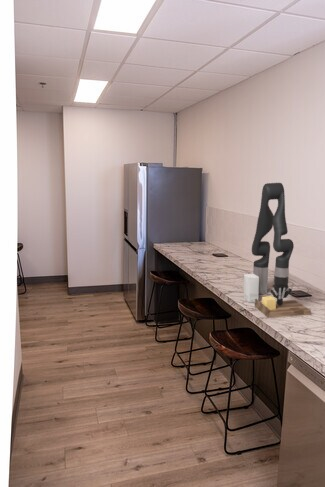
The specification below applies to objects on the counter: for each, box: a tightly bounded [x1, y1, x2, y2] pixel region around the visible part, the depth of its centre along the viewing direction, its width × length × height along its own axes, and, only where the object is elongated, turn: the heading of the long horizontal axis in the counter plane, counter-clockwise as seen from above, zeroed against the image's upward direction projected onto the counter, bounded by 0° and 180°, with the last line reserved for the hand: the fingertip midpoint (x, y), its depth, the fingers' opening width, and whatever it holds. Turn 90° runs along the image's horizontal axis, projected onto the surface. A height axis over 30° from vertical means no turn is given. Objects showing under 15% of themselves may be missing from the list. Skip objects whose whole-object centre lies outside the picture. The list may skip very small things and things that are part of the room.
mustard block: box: [261, 295, 277, 309], centre depth 207 cm, size 6×6×6 cm
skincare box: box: [243, 273, 260, 304], centre depth 225 cm, size 8×7×16 cm
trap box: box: [254, 299, 312, 318], centre depth 210 cm, size 17×25×4 cm
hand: (279, 304), depth 209 cm, fingers closed
